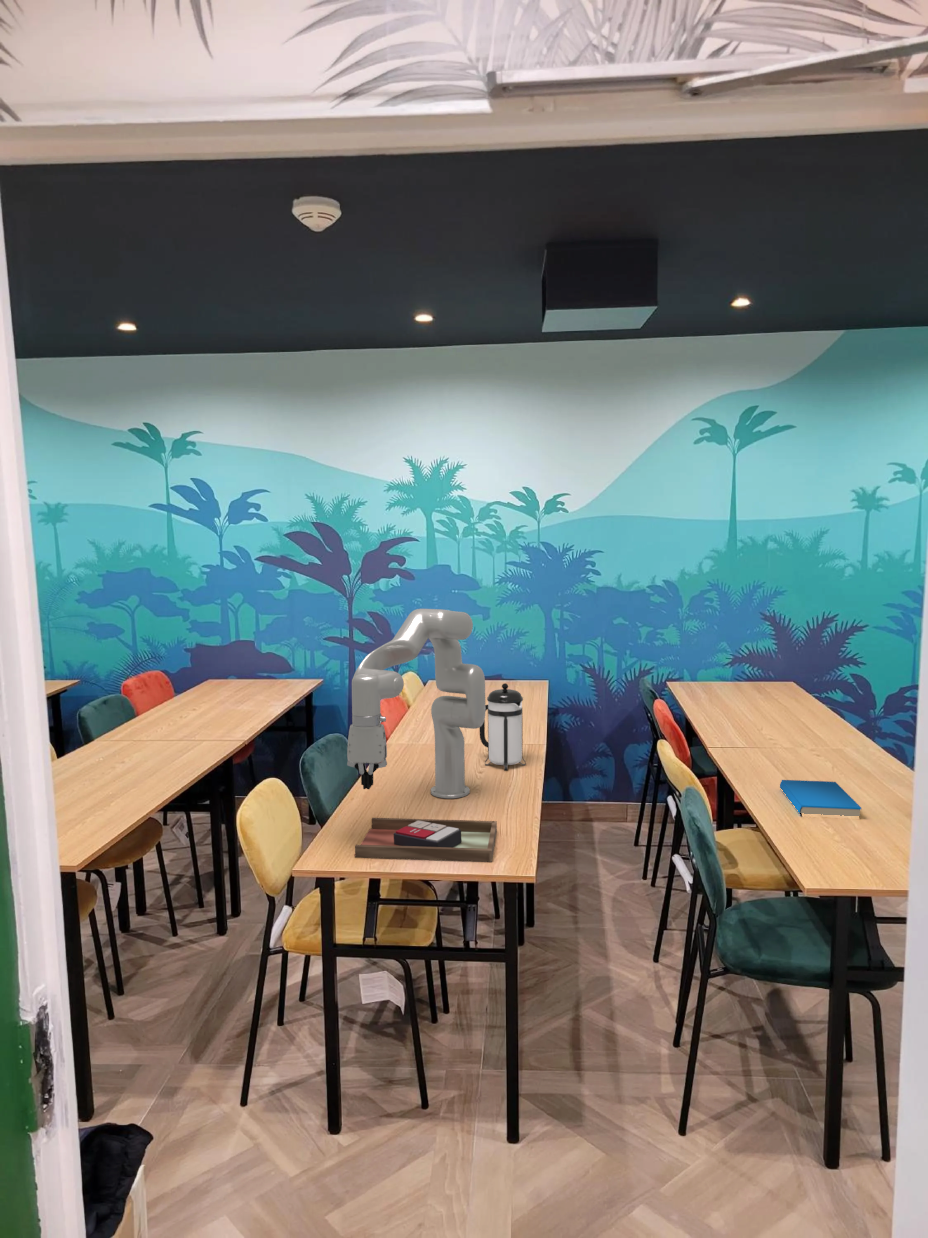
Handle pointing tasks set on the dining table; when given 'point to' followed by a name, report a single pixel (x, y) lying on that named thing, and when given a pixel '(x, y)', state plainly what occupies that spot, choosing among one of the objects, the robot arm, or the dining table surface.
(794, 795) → the book
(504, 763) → the coffee press
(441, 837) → the calculator
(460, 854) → the brown wooden tray
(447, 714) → the robot arm
